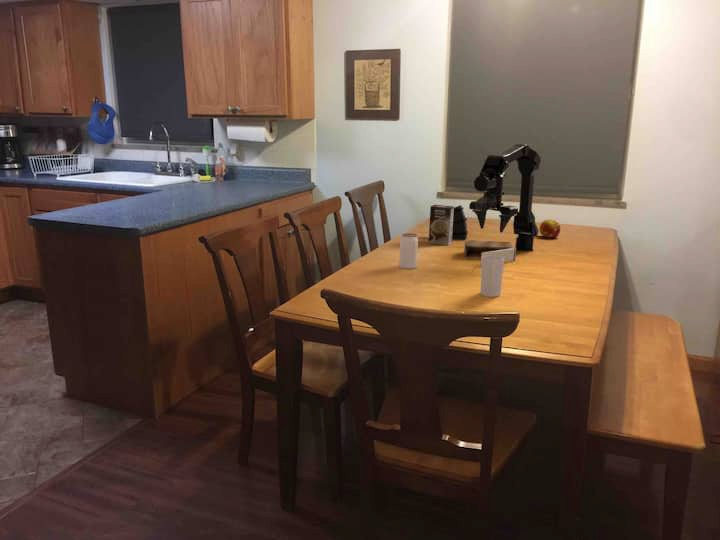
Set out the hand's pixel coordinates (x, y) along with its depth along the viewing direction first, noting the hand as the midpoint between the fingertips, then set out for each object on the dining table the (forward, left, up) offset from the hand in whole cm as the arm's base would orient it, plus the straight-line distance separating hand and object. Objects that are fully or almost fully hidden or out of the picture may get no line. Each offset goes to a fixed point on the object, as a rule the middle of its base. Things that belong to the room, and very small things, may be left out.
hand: (491, 230), depth 231 cm
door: (-3, +3, -12) cm, 13 cm away
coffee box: (+19, -29, -12) cm, 36 cm away
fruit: (-30, -51, -12) cm, 60 cm away
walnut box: (0, -9, -12) cm, 15 cm away
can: (+30, +14, -12) cm, 36 cm away
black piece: (+14, -40, -12) cm, 44 cm away
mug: (+2, +44, -12) cm, 46 cm away
